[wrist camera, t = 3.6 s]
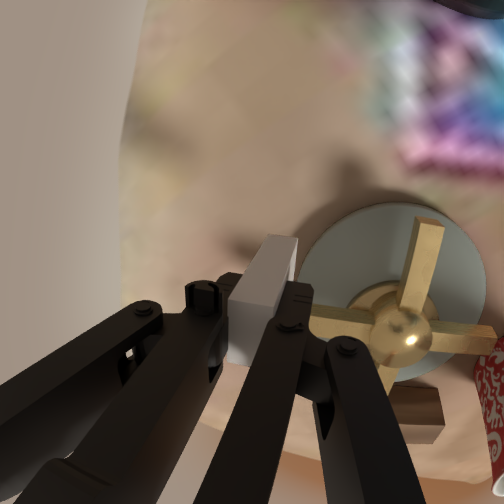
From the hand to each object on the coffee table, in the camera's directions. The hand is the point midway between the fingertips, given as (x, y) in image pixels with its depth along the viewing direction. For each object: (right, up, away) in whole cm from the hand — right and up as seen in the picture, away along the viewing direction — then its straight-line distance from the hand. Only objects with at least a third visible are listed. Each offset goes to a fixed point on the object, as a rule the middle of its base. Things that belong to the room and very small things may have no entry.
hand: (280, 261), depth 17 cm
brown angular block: (+13, -14, +11) cm, 22 cm away
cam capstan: (+10, -4, +7) cm, 12 cm away
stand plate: (+10, -3, +8) cm, 13 cm away
